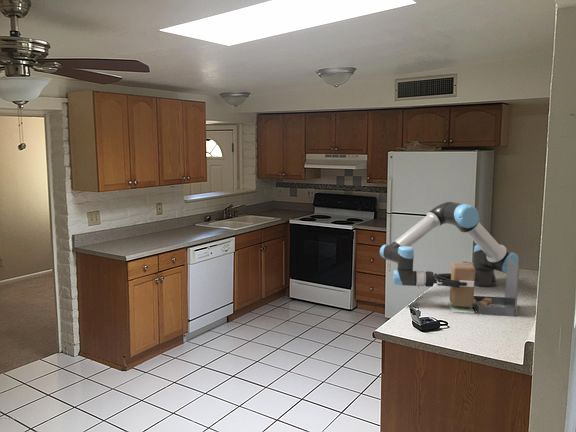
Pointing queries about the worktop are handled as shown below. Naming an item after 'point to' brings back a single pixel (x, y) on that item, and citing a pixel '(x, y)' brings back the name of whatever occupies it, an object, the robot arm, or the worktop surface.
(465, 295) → the wooden block
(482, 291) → the worktop surface
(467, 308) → the mat
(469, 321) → the worktop surface
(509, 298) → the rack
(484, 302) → the upper offcut
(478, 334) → the worktop surface
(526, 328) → the worktop surface
